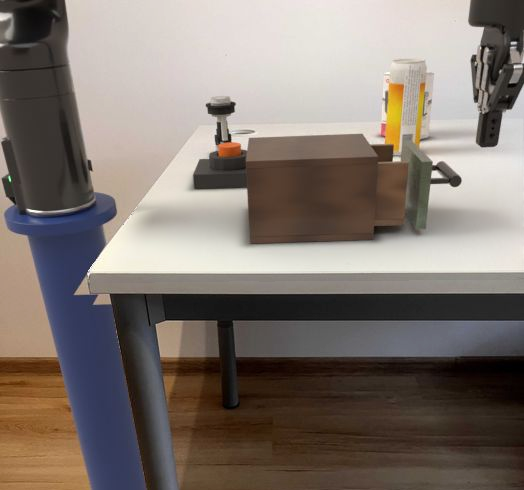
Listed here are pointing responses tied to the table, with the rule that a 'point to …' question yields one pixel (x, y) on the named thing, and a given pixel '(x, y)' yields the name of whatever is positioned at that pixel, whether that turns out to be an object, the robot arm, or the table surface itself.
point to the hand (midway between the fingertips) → (486, 145)
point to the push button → (221, 117)
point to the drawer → (406, 184)
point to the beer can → (405, 102)
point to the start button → (229, 149)
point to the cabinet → (311, 188)
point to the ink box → (425, 105)
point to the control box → (221, 171)
